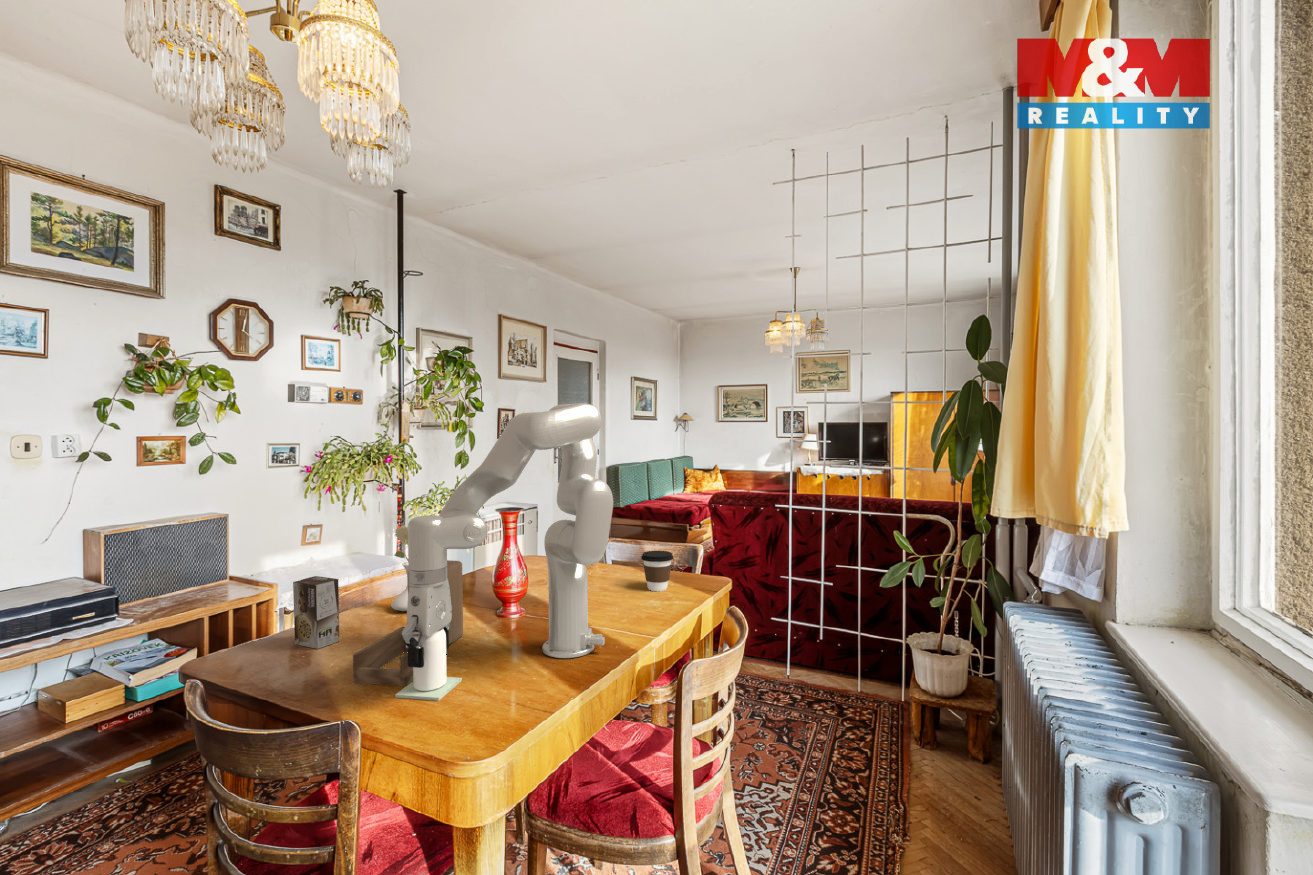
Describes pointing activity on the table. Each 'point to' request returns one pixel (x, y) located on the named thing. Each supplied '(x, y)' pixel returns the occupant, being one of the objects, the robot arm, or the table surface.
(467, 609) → the table surface
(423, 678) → the can
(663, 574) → the coffee cup
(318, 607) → the coffee box
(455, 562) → the block
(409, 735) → the table surface
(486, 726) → the table surface
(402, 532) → the flower in vase
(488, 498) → the robot arm
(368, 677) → the walnut box
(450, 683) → the sage mat
